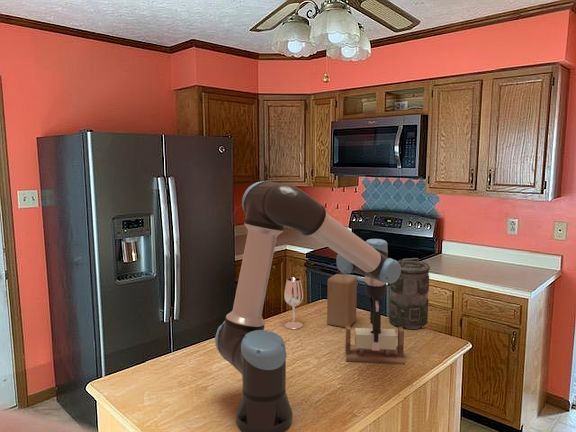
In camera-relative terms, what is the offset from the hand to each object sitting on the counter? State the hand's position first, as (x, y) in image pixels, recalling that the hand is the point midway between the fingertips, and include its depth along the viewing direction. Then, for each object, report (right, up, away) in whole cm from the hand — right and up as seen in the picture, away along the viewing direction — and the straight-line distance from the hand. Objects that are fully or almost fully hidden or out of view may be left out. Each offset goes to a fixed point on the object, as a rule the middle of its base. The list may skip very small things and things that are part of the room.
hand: (374, 345), depth 161 cm
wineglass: (-29, 0, +27) cm, 39 cm away
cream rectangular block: (0, 0, 0) cm, 0 cm away
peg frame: (0, -3, 0) cm, 3 cm away
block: (-8, +1, +30) cm, 31 cm away
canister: (+20, +1, +30) cm, 36 cm away
